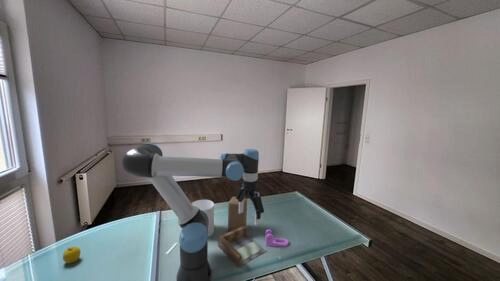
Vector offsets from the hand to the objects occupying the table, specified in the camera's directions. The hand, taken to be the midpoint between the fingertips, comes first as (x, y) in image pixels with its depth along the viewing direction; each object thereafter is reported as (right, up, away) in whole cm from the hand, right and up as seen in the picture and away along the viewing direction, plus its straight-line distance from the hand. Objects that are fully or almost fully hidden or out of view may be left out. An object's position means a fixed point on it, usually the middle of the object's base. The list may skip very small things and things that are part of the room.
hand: (248, 218), depth 102 cm
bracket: (+16, -19, +10) cm, 27 cm away
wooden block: (-7, -16, +23) cm, 29 cm away
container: (-29, -16, +19) cm, 39 cm away
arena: (-4, -19, +5) cm, 20 cm away
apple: (-86, -19, -7) cm, 88 cm away
